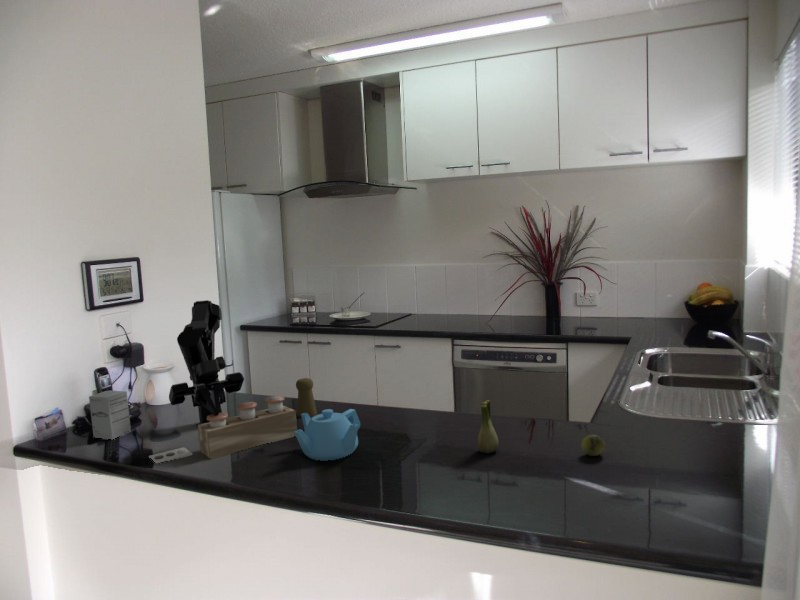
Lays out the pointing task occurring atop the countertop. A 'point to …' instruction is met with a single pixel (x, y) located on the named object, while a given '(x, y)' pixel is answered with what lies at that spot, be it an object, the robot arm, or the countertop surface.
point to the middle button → (247, 410)
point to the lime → (593, 445)
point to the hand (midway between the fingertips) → (217, 414)
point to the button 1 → (217, 420)
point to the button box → (247, 432)
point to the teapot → (329, 435)
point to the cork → (305, 397)
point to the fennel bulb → (487, 431)
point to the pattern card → (170, 455)
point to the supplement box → (110, 414)
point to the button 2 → (275, 404)
